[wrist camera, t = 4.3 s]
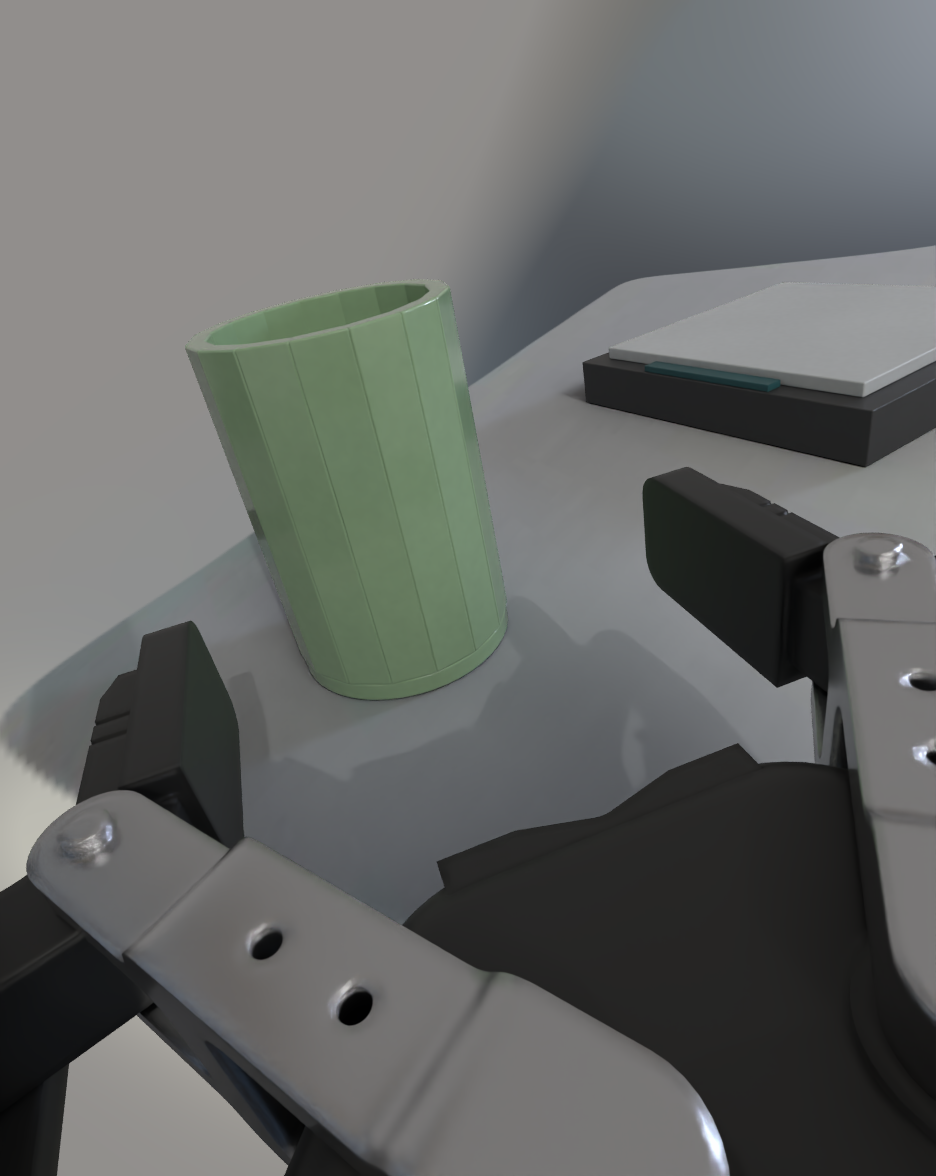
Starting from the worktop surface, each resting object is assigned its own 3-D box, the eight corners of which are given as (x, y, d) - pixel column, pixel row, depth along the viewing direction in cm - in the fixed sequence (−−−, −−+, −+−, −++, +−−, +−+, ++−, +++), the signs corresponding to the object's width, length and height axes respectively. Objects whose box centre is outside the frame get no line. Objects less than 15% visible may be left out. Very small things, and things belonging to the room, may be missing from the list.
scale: (866, 467, 27) (874, 394, 25) (585, 402, 39) (580, 350, 38) (1076, 348, 33) (1093, 284, 32) (777, 323, 45) (779, 277, 44)
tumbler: (359, 735, 19) (229, 363, 14) (278, 635, 24) (161, 336, 19) (550, 629, 22) (499, 282, 17) (441, 559, 27) (376, 277, 22)
